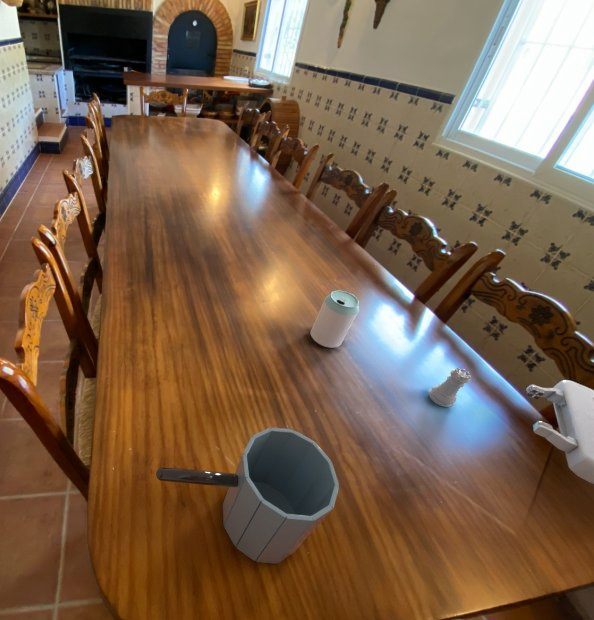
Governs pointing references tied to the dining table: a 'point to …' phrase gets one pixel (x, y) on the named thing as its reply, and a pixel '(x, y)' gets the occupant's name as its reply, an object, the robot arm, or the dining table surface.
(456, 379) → the rook chess piece
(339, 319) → the can
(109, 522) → the dining table surface
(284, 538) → the pot
